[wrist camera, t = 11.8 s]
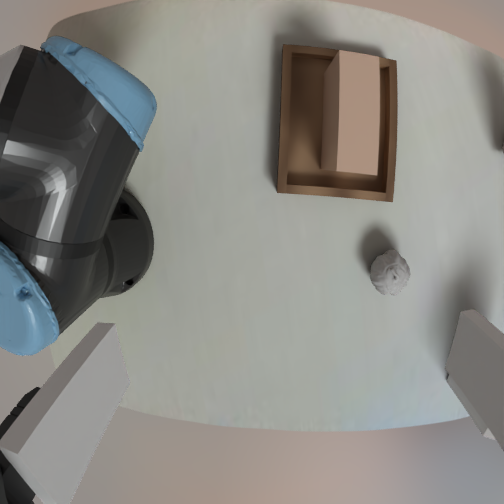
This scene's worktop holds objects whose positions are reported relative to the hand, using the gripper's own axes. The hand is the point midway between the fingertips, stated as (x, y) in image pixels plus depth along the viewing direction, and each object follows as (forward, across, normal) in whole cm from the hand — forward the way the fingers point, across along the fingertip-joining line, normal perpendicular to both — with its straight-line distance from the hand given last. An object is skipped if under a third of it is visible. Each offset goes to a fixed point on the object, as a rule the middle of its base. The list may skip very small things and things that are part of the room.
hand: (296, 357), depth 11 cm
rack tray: (+29, +8, +11) cm, 33 cm away
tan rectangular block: (+29, +8, +11) cm, 32 cm away
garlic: (+29, +15, -7) cm, 34 cm away
